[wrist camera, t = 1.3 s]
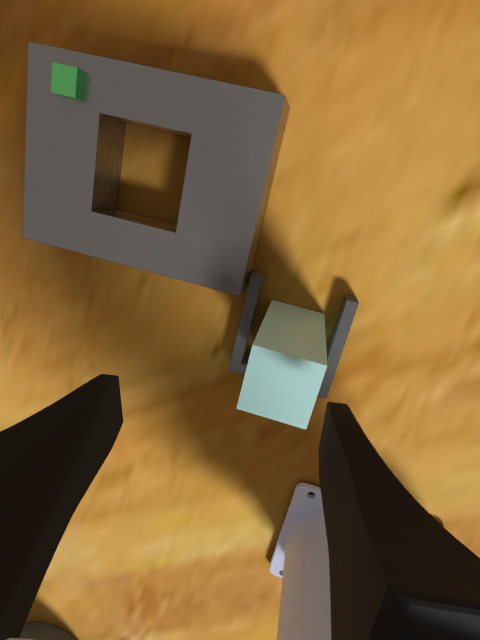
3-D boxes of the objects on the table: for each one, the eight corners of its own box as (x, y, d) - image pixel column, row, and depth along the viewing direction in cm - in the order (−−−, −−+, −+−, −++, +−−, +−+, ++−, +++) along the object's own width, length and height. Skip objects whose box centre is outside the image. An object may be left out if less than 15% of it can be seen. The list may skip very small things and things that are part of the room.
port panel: (289, 107, 19) (284, 91, 16) (248, 284, 22) (237, 298, 19) (63, 60, 20) (20, 37, 17) (53, 233, 23) (15, 238, 20)
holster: (356, 297, 21) (358, 303, 20) (325, 388, 23) (326, 398, 22) (254, 270, 22) (250, 274, 20) (232, 361, 23) (228, 369, 22)
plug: (324, 313, 22) (327, 365, 15) (309, 361, 23) (306, 429, 16) (272, 299, 22) (252, 344, 15) (259, 347, 23) (236, 408, 16)
